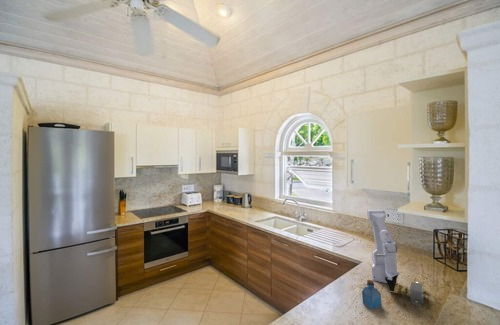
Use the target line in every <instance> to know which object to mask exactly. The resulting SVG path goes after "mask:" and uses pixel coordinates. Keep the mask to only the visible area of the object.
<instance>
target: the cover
mask: <svg viewBox="0 0 500 325" xmlns="http://www.w3.org/2000/svg"><path fill="white" fill-rule="evenodd" d="M414 282H415V283H420V284H422V285H423V293H426V288H424V282H423V281H421V280H415V281H414Z"/></svg>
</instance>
